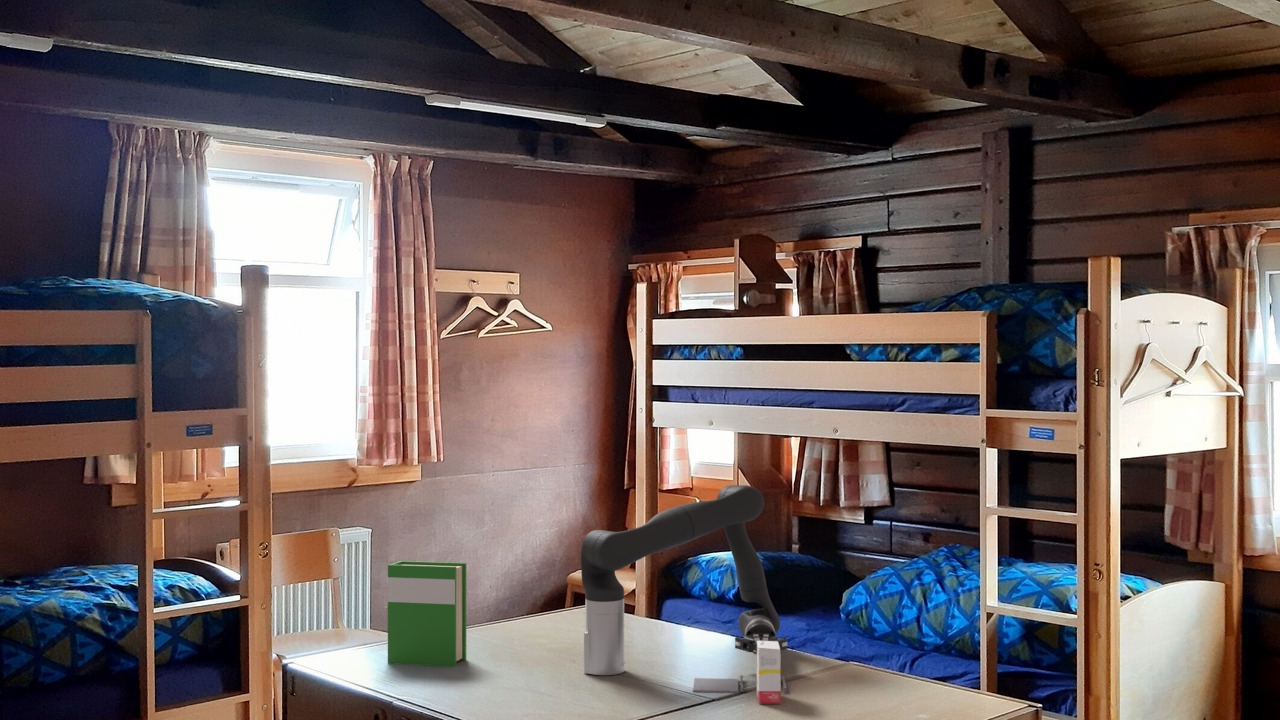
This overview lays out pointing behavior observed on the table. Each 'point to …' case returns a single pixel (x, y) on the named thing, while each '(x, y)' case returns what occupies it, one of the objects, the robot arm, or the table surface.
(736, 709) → the table surface
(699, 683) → the grey flat slab
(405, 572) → the hardback book
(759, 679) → the ink box
